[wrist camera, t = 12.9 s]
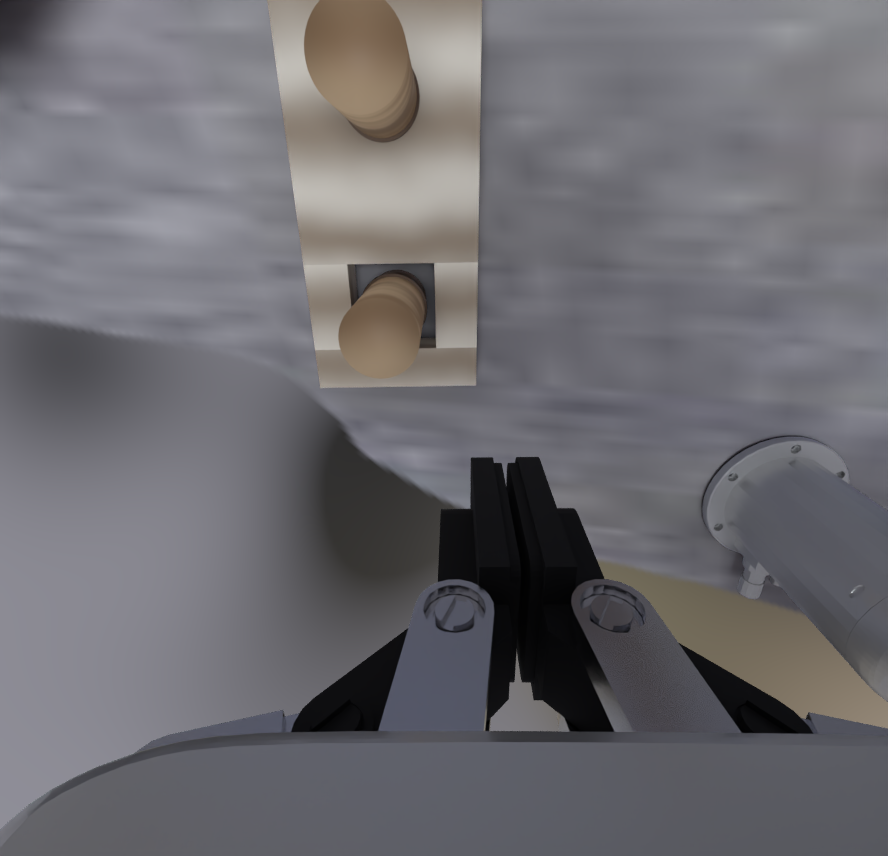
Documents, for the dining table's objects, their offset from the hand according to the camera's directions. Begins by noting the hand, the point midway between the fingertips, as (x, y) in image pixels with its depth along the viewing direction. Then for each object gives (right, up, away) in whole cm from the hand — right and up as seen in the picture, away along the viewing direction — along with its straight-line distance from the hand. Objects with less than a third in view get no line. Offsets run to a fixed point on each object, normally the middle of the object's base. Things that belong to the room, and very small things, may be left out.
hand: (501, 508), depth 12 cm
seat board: (-5, +17, +22) cm, 28 cm away
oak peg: (-5, +12, +24) cm, 28 cm away
